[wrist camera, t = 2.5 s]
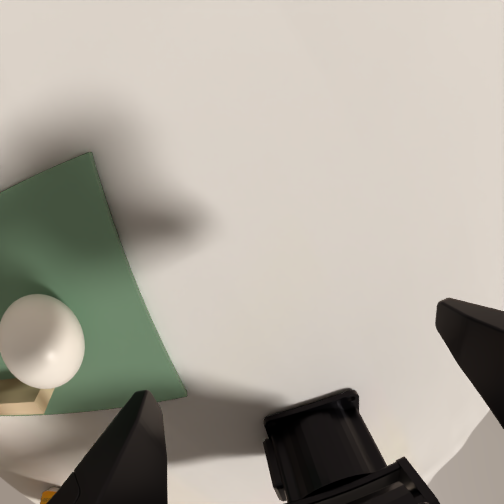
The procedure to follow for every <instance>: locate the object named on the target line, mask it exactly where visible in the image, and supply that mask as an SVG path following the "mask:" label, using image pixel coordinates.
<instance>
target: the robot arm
mask: <svg viewBox="0 0 504 504" xmlns="http://www.w3.org/2000/svg"><path fill="white" fill-rule="evenodd" d="M435 324H436V328H437V330H438V332H439V334H440V335H441V337H442V339H443V340H444V342H445V343H446V345H447V347H448V348H449V350H450V352H451V353H452V355H453V357H454V359H455V360H456V362H457V363H458V365H459V366H460V368H461V369H462V370H463V372H464V373H465V374H466V376H467V377H468V378H469V380H470V381H471V383H472V384H473V385H474V387H475V388H476V390H477V391H478V392H479V394H480V395H481V397H482V398H483V399H484V401H485V402H486V404H487V405H488V407H489V408H490V410H491V411H492V413H493V414H494V415H495V417H496V418H497V420H498V421H499V423H500V424H501V426H502V427H503V429H504V311H501V310H497V309H493V308H489V307H485V306H481V305H477V304H473V303H469V302H465V301H461V300H457V299H453V298H446V299H444V300H442V301H440V302H438V304H437V311H436V322H435ZM264 426H265V429H266V431H267V434H268V437H269V439H265V441H264V442H263V445H264V449H265V454H266V458H267V462H268V467H269V471H270V475H271V480H272V484H273V488H274V490H275V492H276V494H277V496H278V498H279V500H281V501H287V503H285V504H440V503H439V501H438V499H437V498H436V497H435V495H434V494H433V492H432V491H431V490H430V489H429V488H428V486H427V485H426V483H425V482H424V481H423V480H422V478H421V477H420V476H419V474H418V473H417V472H416V471H415V469H414V468H413V467H412V465H411V464H410V463H409V462H408V460H407V459H406V458H405V457H402V458H400V459H398V460H396V462H395V463H393V464H391V465H388V466H387V465H386V463H385V461H384V459H383V457H382V455H381V453H380V451H379V449H378V447H377V445H376V444H375V442H374V440H373V438H372V436H371V434H370V432H369V430H368V428H367V426H366V425H365V423H364V421H363V419H362V417H361V415H360V413H359V396H358V394H357V392H356V391H355V390H350V391H347V392H344V393H341V394H339V395H336V396H333V397H330V398H327V399H324V400H321V401H318V402H315V403H312V404H308V405H305V406H302V407H299V408H295V409H292V410H288V411H285V412H281V413H278V414H274V415H270V416H268V417H266V418H265V419H264ZM46 504H168V502H167V453H166V444H165V435H164V426H163V415H162V411H161V408H160V406H159V405H158V403H157V401H156V400H155V398H154V396H153V395H152V393H151V392H150V391H149V390H141V391H136V392H135V393H134V394H133V395H132V396H131V398H130V399H129V400H128V402H127V403H126V404H125V405H124V407H123V408H122V409H121V411H120V412H119V413H118V414H117V416H116V417H115V418H114V419H113V421H112V422H111V423H110V425H109V426H108V427H107V428H106V430H105V431H104V432H103V434H102V435H101V436H100V437H99V439H98V440H97V441H96V443H95V444H94V445H93V446H92V448H91V449H90V450H89V452H88V453H87V454H86V455H85V457H84V458H83V459H82V461H81V462H80V463H79V464H78V466H77V467H76V468H75V470H74V472H72V473H71V475H70V476H69V477H68V479H67V480H66V481H65V482H64V484H63V485H62V486H61V487H60V488H59V490H58V491H57V492H56V493H55V494H54V495H53V496H52V498H51V499H50V500H49V501H48V502H47V503H46Z"/></svg>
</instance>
